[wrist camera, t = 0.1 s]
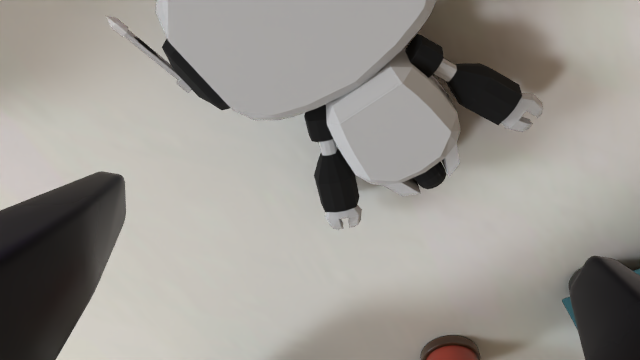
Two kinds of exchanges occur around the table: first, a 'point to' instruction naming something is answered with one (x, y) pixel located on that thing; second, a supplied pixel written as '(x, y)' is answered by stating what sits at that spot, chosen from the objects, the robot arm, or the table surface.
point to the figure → (450, 349)
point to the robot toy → (338, 84)
